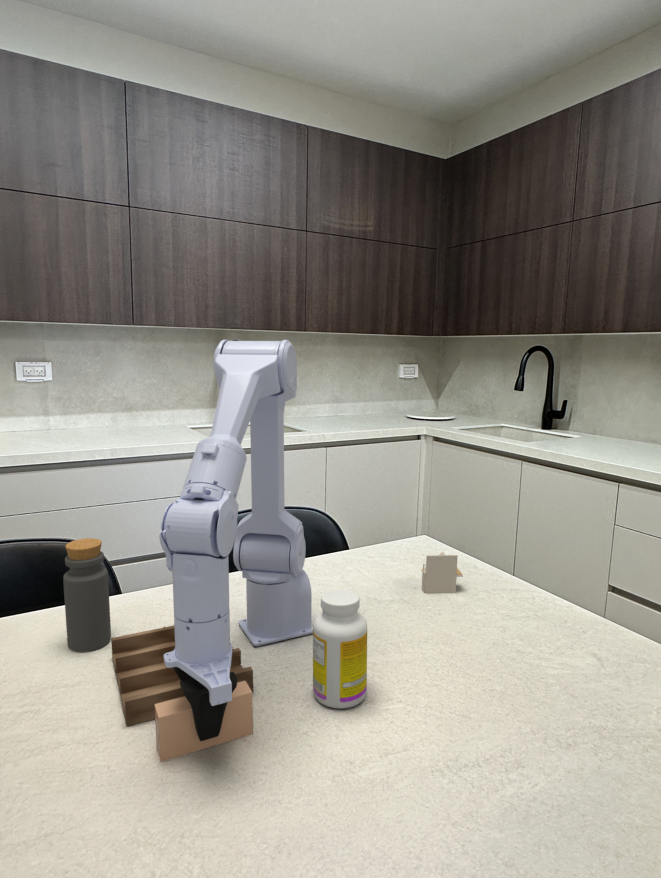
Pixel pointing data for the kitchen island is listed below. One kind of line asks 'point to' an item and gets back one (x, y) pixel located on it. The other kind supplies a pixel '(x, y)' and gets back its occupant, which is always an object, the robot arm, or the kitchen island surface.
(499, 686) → the kitchen island surface
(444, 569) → the architectural model
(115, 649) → the rack
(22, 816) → the kitchen island surface
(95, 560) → the bottle
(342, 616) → the supplement bottle
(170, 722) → the peach rectangular block
